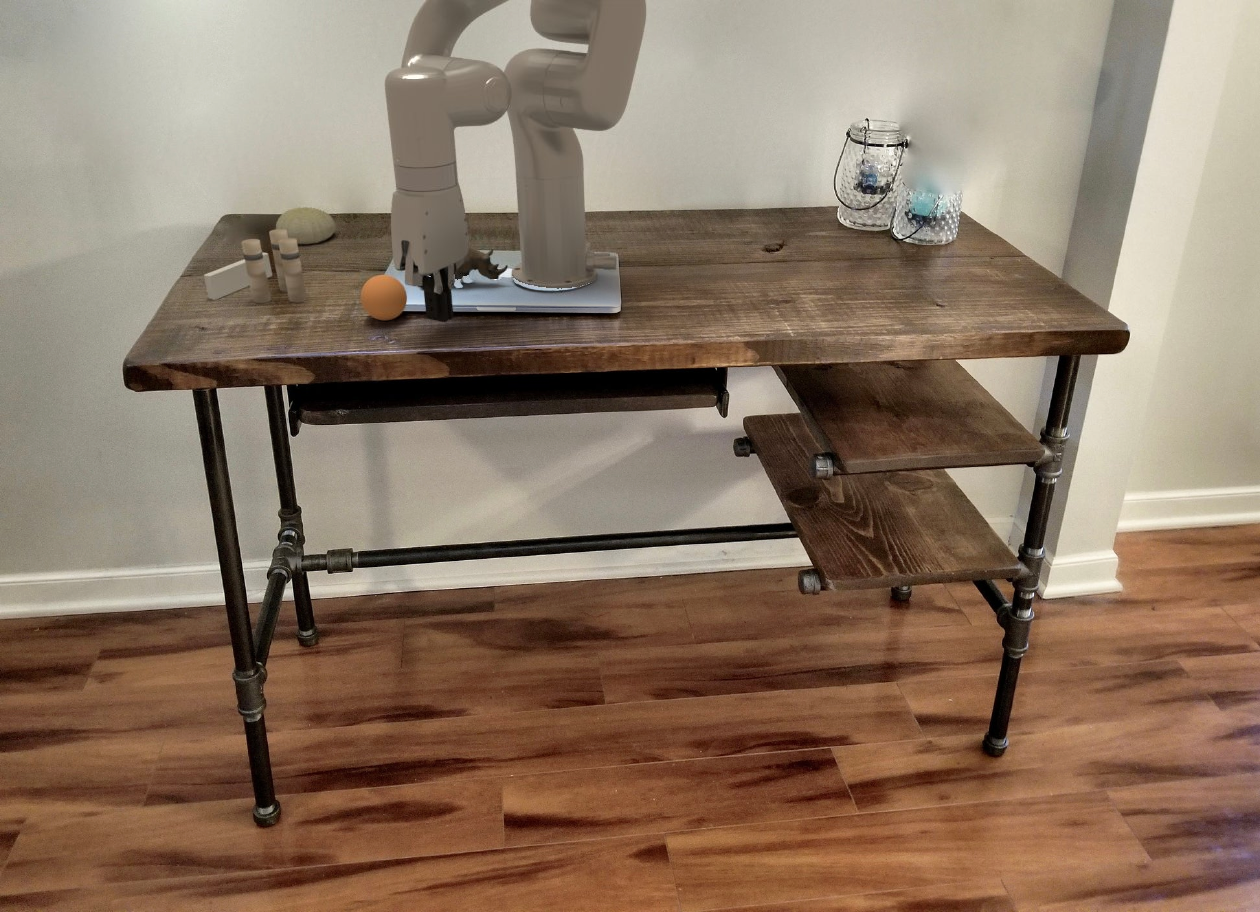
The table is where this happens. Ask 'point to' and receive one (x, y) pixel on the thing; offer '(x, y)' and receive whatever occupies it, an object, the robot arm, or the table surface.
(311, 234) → the sea urchin shell
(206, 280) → the rail
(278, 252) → the right pin
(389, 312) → the ball
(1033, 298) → the table surface
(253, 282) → the left pin
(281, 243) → the front pin
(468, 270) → the rhino figurine
